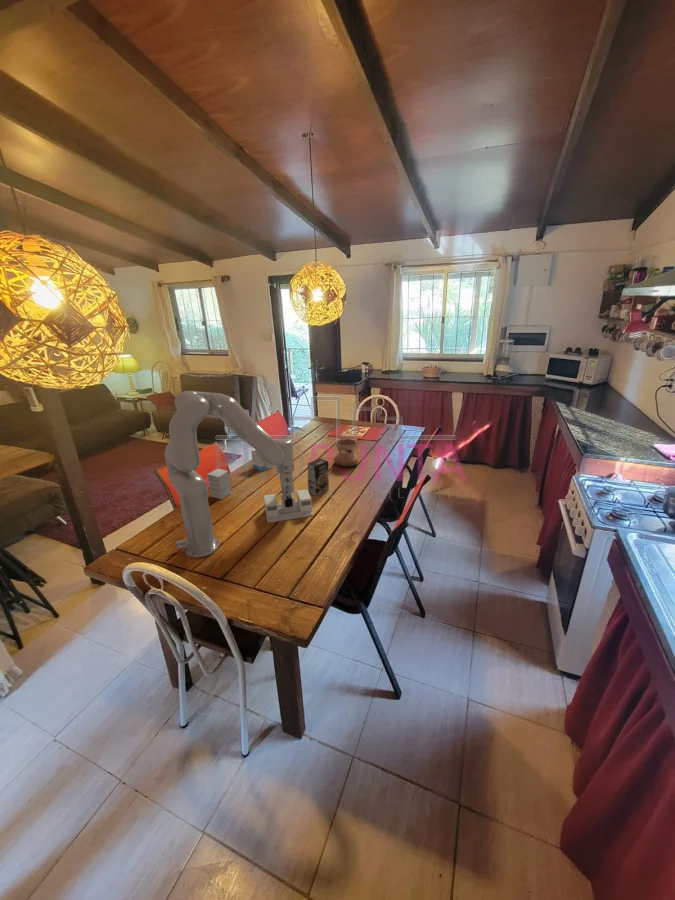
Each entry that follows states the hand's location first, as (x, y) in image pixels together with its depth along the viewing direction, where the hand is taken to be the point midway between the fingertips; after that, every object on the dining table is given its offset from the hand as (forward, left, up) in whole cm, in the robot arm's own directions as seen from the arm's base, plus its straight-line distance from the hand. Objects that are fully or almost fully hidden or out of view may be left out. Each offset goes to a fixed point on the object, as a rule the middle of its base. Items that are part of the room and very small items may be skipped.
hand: (287, 501), depth 155 cm
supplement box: (-30, +26, -6) cm, 40 cm away
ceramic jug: (+42, +45, -6) cm, 62 cm away
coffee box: (+18, +16, -6) cm, 25 cm away
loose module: (0, 0, -4) cm, 4 cm away
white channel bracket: (0, 0, -6) cm, 6 cm away
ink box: (-7, +54, -6) cm, 55 cm away
